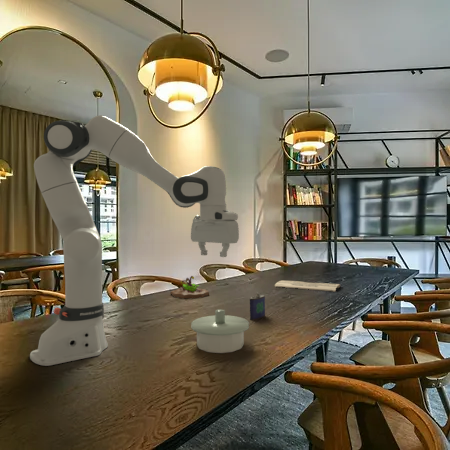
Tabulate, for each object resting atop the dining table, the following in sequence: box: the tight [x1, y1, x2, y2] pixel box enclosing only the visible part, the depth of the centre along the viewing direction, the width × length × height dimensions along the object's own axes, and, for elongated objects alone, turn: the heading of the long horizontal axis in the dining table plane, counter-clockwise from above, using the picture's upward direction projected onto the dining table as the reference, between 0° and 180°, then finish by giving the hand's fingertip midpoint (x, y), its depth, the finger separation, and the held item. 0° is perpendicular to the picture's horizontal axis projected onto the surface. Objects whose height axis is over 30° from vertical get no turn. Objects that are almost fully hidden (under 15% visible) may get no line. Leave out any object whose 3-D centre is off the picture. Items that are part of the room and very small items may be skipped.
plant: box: [170, 275, 210, 300], centre depth 199 cm, size 20×20×11 cm
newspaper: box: [274, 279, 341, 293], centre depth 220 cm, size 37×19×3 cm, turn 64°
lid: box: [190, 309, 250, 335], centre depth 117 cm, size 19×19×5 cm
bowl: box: [196, 331, 245, 354], centre depth 117 cm, size 15×15×6 cm
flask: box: [249, 292, 266, 321], centre depth 150 cm, size 9×3×11 cm, turn 138°
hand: (213, 256), depth 119 cm, fingers open, 8 cm apart
